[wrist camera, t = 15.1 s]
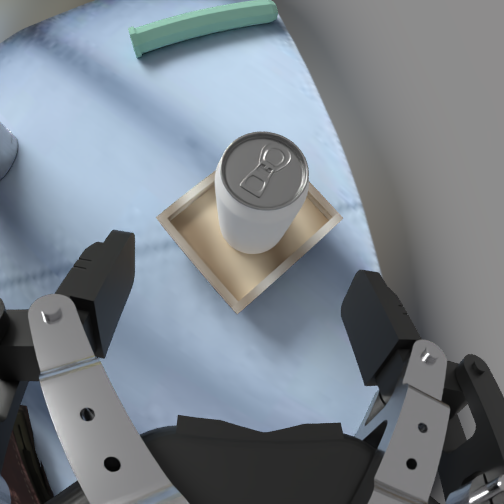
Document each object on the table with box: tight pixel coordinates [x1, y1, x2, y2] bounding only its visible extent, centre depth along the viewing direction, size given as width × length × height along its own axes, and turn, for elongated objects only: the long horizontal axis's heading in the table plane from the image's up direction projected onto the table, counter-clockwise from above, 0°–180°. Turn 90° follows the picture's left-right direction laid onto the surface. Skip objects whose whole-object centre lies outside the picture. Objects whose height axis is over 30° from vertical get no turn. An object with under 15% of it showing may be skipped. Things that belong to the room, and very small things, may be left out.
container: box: [128, 0, 278, 58], centre depth 39 cm, size 6×6×25 cm
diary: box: [1, 405, 54, 504], centre depth 24 cm, size 19×25×5 cm
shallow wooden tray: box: [156, 171, 343, 314], centre depth 32 cm, size 14×12×6 cm
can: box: [215, 132, 309, 254], centre depth 25 cm, size 6×6×12 cm
